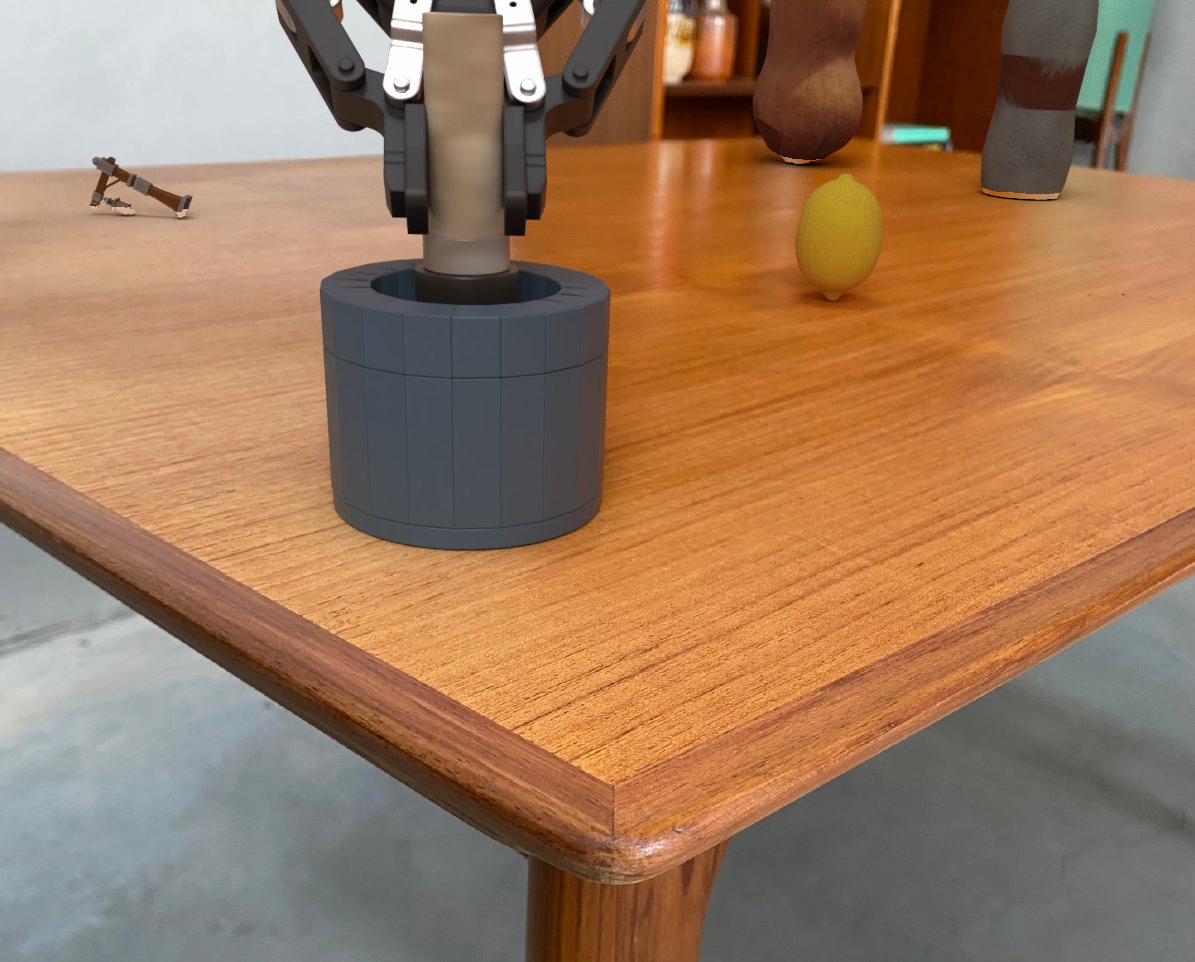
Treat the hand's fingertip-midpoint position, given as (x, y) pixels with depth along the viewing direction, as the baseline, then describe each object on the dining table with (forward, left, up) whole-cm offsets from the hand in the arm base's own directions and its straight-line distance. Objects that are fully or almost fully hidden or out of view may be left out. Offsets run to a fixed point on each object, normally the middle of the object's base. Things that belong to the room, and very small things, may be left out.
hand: (467, 218), depth 40 cm
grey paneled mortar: (-1, +2, -11) cm, 11 cm away
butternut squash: (+10, +127, -11) cm, 128 cm away
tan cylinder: (-1, +2, -6) cm, 6 cm away
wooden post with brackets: (-43, +58, -11) cm, 73 cm away
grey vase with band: (+34, +106, -11) cm, 112 cm away
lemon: (+13, +43, -11) cm, 46 cm away
